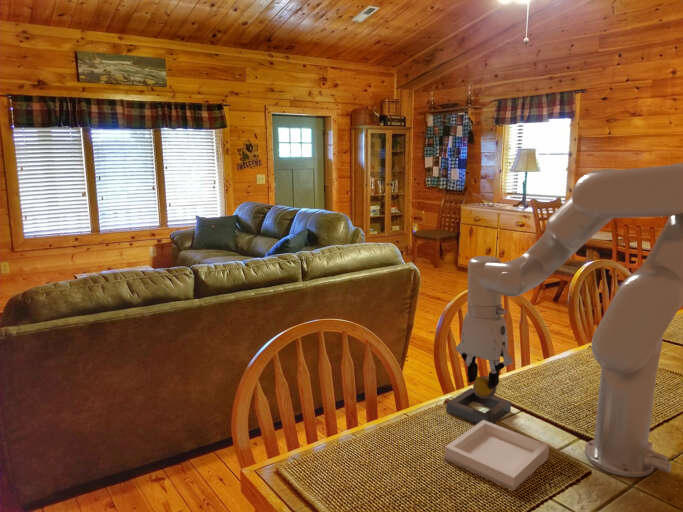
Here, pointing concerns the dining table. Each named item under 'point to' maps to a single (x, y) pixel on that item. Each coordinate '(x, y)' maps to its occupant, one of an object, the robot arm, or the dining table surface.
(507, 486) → the tray
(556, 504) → the dining table surface
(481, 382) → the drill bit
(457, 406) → the socket collar
